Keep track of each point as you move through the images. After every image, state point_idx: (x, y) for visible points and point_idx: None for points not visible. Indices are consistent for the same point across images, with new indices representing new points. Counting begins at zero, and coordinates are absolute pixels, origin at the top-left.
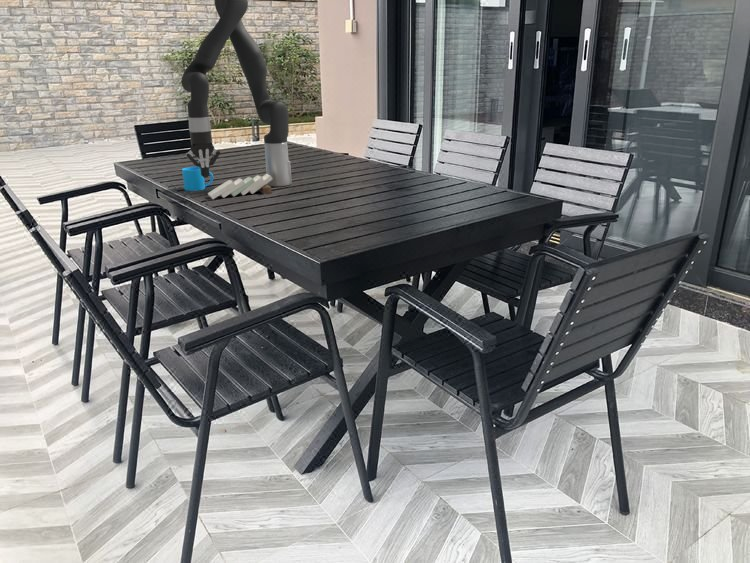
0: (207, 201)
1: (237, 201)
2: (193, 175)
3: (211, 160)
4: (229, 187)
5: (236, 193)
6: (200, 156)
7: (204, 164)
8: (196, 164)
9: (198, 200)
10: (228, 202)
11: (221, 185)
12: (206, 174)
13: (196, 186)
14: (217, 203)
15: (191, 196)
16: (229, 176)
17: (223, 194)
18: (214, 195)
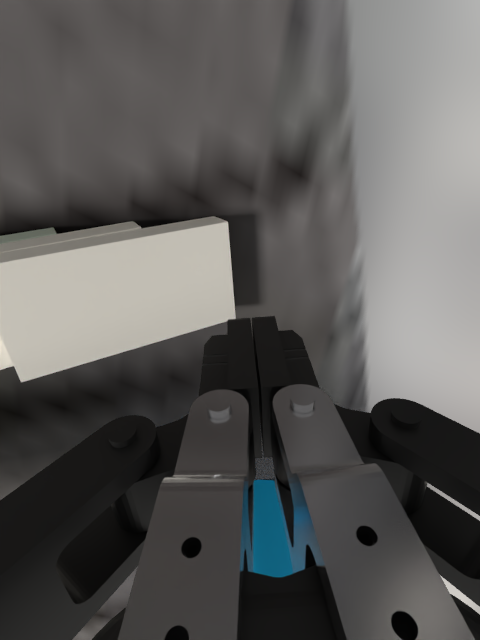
0: (266, 160)
1: (12, 6)
2: (277, 568)
3: (111, 548)
4: (44, 248)
5: (16, 234)
6: (419, 603)
7: (253, 479)
8: (432, 429)
9: (317, 232)
10: (100, 7)
11: (113, 333)
12: (244, 333)
13: (260, 499)
14: (202, 19)
15: (323, 367)
16: (79, 636)
17: (123, 228)
18: (197, 223)
